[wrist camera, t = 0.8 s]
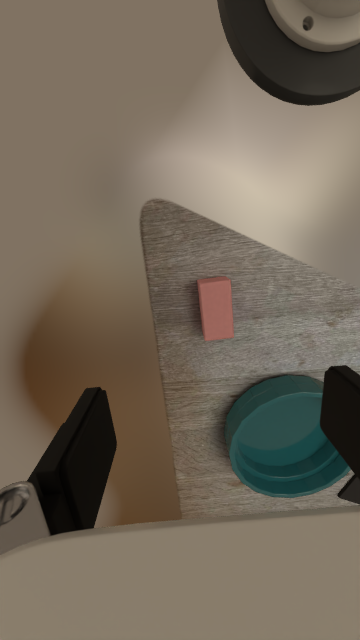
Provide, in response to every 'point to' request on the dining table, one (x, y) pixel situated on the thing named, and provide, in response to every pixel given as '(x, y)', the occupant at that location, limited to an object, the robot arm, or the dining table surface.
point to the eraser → (216, 308)
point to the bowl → (282, 439)
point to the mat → (351, 491)
